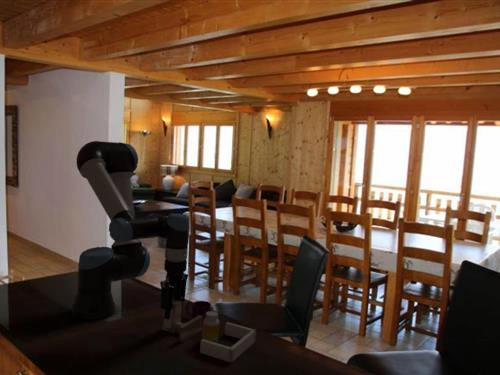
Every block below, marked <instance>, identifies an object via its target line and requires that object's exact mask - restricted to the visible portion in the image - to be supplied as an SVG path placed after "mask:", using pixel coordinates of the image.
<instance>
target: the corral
mask: <svg viewBox="0 0 500 375" xmlns="http://www.w3.org/2000/svg"><path fill="white" fill-rule="evenodd" d="M224 335H225V336H229V337H233V338H237V339H239V340H238V341H237V342H236V343H234V344H233V345H232V346H227V345H224V344H222V343H218V342H217V343H214V342H211V341H208V340H204V339H202V338H201V339H200V345H199V346H200V347H199V354H203V355H206V356H209V357H213V358H215V359H219V360H222V361H225V362H228V363H230V364H231V363H233V362H234V361H236V359H238V357H240V356H241V355H242V354H243V353H244V352H246V351H247V350H248V349H249V348H250V347H251V346H252V345H253V344H254V343H255V342H256V341H257V340H256V337H257V329H254V328H251V327H250V328H249V327H246V326H243V325H239V324H236V323H231V322H228V321H227V322H225V326H224Z"/></svg>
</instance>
